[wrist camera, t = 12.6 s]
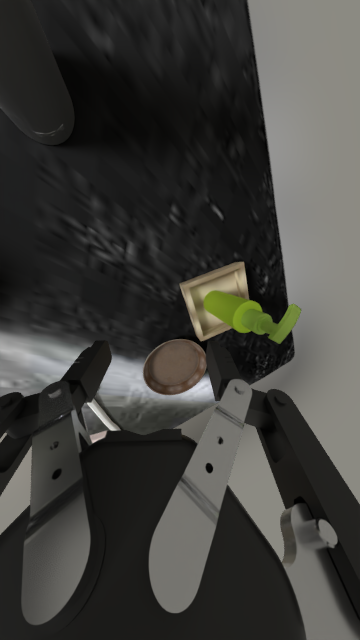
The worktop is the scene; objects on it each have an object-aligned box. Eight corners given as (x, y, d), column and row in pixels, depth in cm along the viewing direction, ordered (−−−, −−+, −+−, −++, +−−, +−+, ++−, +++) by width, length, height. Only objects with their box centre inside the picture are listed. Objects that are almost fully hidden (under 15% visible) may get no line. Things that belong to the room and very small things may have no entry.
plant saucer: (205, 331, 41) (209, 336, 39) (201, 382, 47) (204, 389, 44) (140, 337, 37) (140, 343, 34) (144, 392, 43) (145, 400, 40)
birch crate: (179, 283, 35) (183, 285, 32) (234, 262, 36) (243, 261, 33) (196, 335, 41) (201, 341, 38) (243, 315, 42) (251, 319, 39)
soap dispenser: (230, 293, 38) (313, 316, 20) (216, 316, 39) (282, 358, 21) (213, 282, 36) (288, 297, 18) (199, 307, 37) (255, 344, 19)
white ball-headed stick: (138, 438, 49) (138, 447, 46) (126, 444, 48) (125, 454, 46) (90, 379, 38) (86, 387, 35) (74, 386, 37) (69, 394, 35)
